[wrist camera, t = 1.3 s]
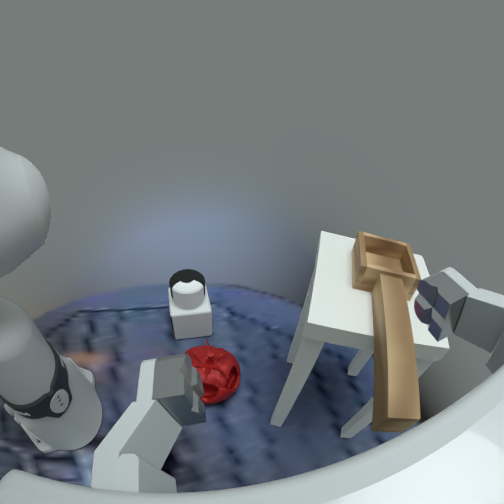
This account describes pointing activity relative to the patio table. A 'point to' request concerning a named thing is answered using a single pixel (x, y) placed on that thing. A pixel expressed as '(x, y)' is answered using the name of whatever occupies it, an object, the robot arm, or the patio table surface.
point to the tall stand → (344, 327)
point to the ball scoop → (390, 327)
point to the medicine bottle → (189, 305)
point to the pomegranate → (215, 372)
